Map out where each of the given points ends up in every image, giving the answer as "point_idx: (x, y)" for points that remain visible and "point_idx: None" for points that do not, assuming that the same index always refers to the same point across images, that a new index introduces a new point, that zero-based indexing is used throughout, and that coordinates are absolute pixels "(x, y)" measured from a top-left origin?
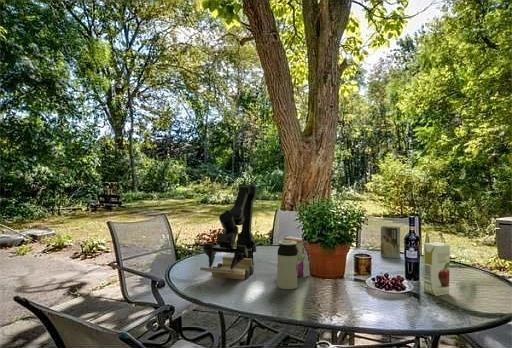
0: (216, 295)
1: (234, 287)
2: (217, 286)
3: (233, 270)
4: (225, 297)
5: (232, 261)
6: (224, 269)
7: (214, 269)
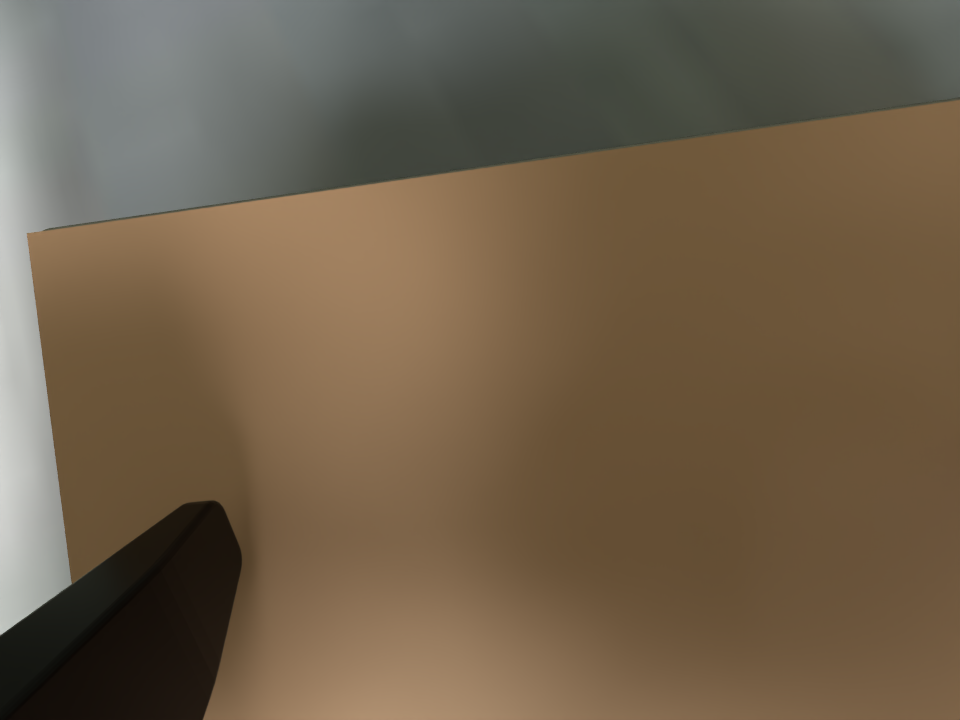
0: (396, 26)
1: None
2: None
3: (39, 248)
4: (251, 16)
5: (41, 668)
6: (295, 199)
7: (615, 148)
